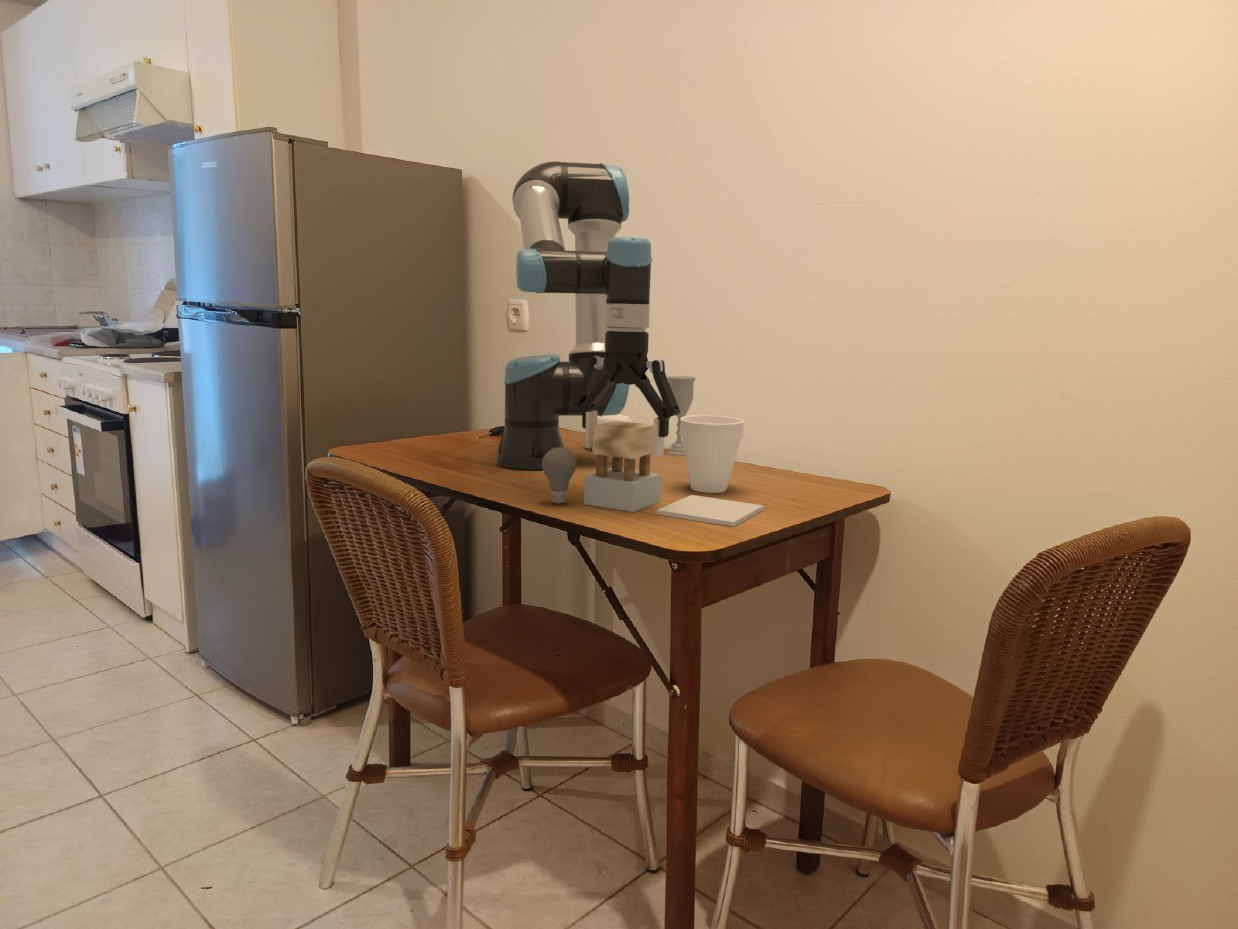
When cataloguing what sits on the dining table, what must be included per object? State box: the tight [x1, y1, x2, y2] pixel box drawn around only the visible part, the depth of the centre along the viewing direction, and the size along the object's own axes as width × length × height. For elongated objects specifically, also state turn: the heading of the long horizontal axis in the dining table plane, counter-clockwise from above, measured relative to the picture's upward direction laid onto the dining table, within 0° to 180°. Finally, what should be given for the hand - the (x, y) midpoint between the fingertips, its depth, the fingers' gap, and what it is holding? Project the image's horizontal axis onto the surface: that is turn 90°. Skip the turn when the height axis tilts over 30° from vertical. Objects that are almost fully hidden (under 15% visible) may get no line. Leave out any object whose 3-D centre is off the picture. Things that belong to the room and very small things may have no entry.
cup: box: [679, 414, 745, 494], centre depth 168 cm, size 12×12×14 cm
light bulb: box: [542, 447, 577, 505], centre depth 154 cm, size 6×6×10 cm
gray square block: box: [583, 467, 662, 513], centre depth 156 cm, size 10×10×5 cm
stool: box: [592, 421, 654, 481], centre depth 154 cm, size 8×8×9 cm
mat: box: [656, 494, 765, 528], centre depth 151 cm, size 14×14×1 cm
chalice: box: [667, 375, 697, 456], centre depth 206 cm, size 7×7×18 cm
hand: (623, 451), depth 154 cm, fingers open, 13 cm apart
